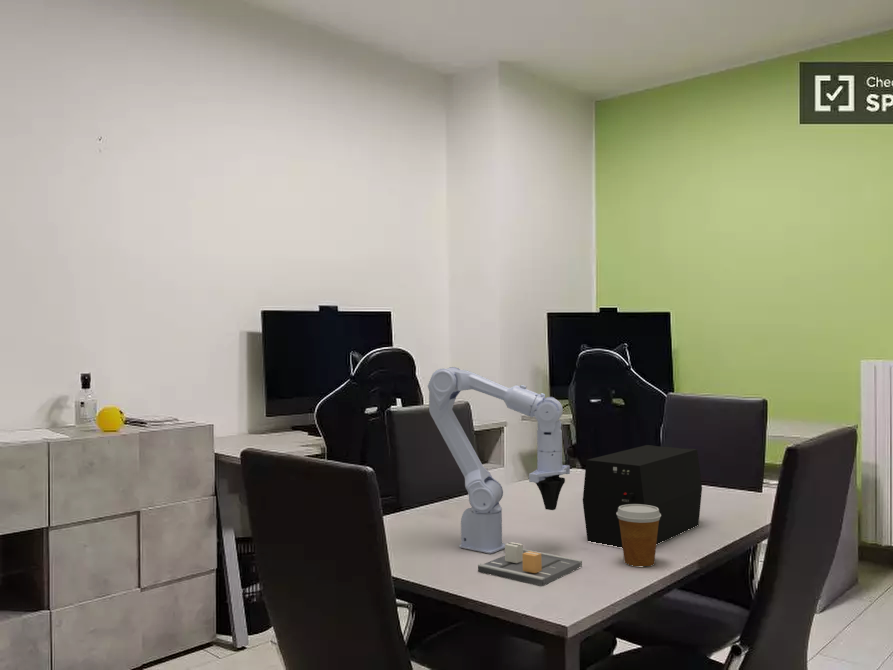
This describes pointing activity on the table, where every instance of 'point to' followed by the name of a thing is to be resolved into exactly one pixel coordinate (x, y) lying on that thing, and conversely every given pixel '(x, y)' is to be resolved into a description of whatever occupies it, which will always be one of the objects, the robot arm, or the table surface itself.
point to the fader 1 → (514, 552)
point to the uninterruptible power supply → (642, 490)
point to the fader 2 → (532, 562)
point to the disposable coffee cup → (639, 533)
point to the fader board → (550, 571)
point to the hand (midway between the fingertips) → (550, 509)
